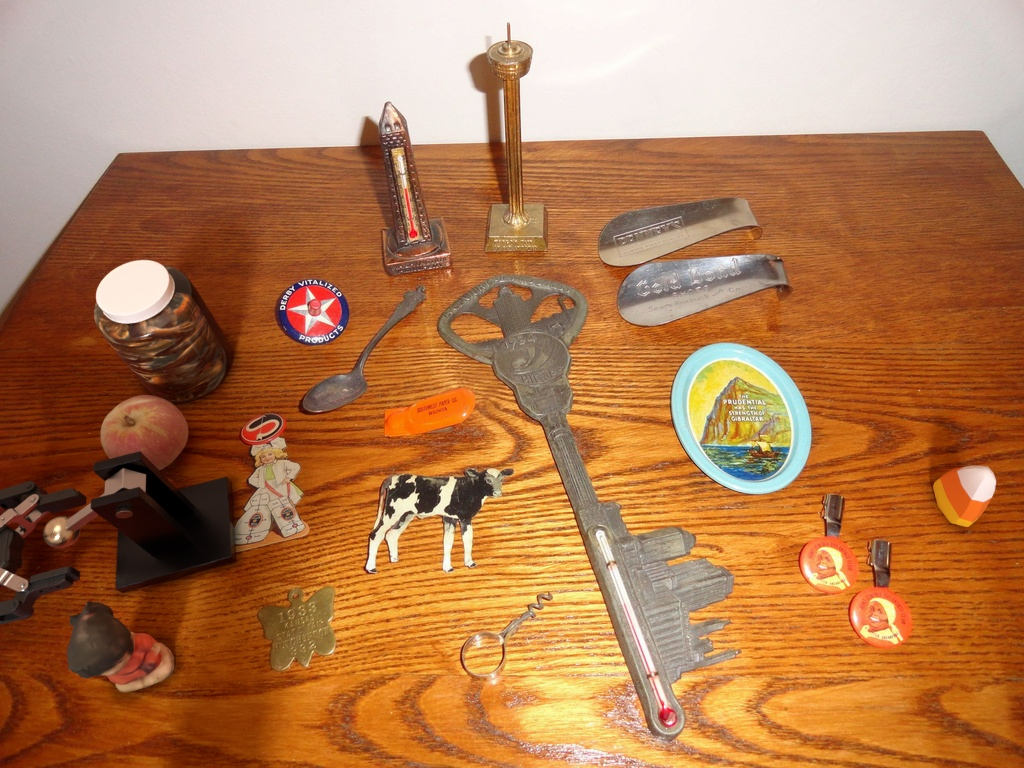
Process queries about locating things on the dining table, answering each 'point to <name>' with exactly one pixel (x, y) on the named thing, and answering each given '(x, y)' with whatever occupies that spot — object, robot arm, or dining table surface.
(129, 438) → the apple
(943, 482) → the candy corn
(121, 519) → the bracket
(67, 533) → the lever
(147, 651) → the figurine
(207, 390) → the jar
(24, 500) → the robot arm
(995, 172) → the dining table surface
